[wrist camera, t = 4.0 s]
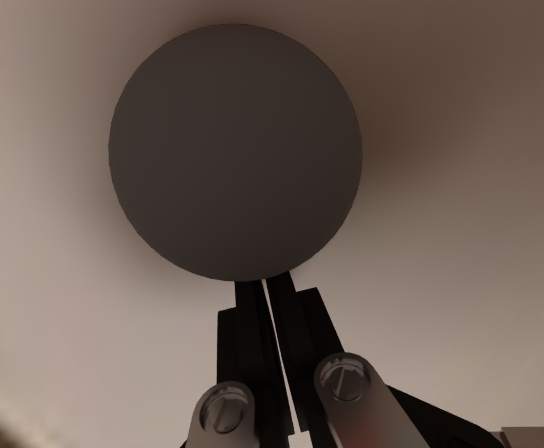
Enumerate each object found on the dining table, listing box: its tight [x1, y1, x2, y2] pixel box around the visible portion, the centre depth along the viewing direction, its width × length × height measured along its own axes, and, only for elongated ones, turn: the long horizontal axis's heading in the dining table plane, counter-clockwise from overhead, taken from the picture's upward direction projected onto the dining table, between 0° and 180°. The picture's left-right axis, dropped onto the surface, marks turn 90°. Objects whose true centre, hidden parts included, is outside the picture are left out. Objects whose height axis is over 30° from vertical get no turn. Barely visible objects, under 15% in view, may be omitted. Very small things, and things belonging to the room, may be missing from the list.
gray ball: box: [108, 24, 362, 281], centre depth 8 cm, size 6×6×6 cm
